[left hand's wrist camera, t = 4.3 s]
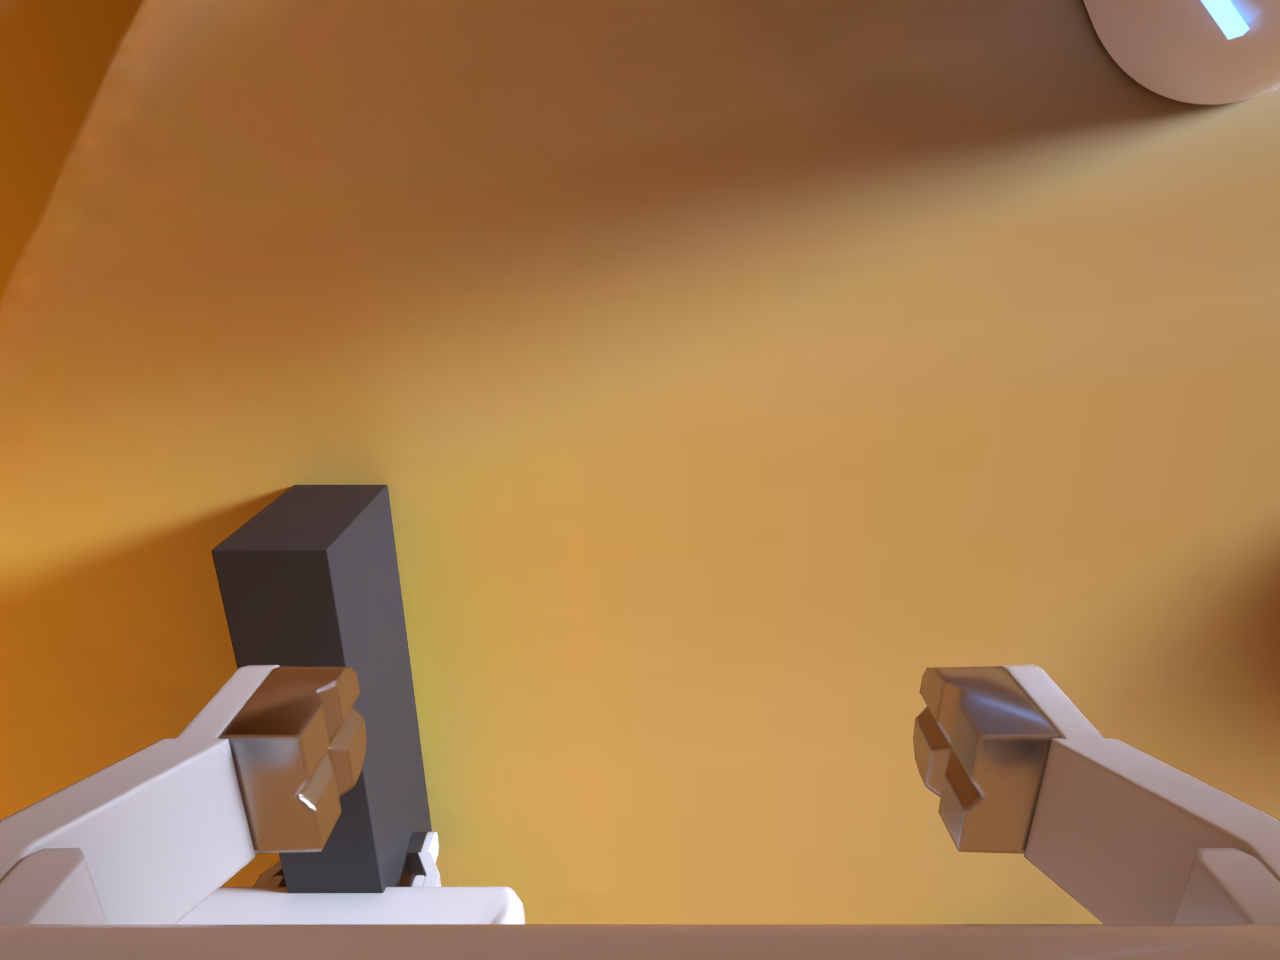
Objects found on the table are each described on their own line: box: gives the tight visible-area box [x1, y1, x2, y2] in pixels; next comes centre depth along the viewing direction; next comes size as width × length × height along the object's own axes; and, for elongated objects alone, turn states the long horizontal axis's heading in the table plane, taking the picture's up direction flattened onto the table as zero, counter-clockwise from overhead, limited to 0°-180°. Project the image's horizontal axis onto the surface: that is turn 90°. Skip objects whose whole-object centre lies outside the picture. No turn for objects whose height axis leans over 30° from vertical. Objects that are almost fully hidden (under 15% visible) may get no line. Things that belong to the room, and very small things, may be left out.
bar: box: [212, 485, 432, 893], centre depth 41 cm, size 26×5×8 cm, turn 0°
